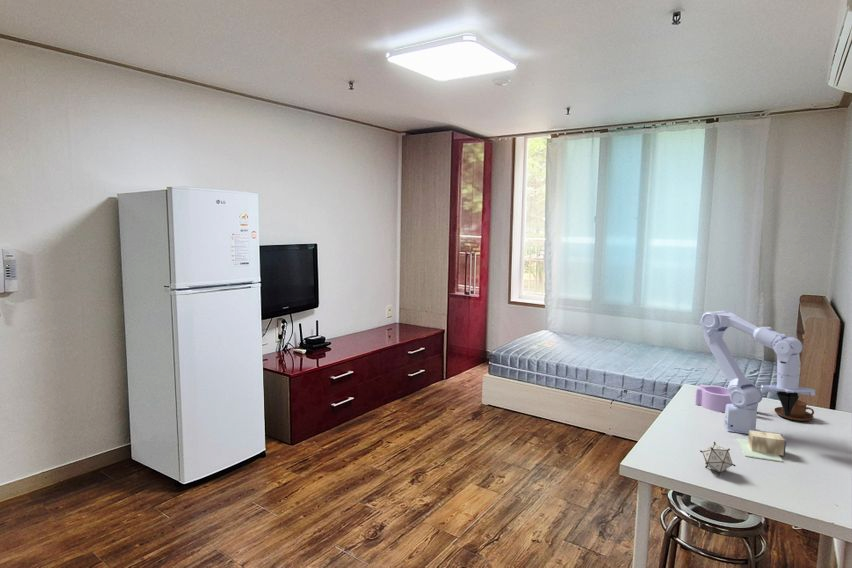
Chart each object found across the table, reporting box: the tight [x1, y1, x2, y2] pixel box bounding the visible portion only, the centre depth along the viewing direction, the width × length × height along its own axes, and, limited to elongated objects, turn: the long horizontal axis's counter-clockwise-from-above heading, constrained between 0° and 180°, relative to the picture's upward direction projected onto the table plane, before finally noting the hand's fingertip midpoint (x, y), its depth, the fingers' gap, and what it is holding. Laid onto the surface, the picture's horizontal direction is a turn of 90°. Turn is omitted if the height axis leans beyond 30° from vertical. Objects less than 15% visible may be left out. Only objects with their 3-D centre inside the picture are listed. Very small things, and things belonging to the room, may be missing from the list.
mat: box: [735, 437, 784, 463], centre depth 162 cm, size 10×14×1 cm
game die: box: [699, 441, 737, 476], centre depth 148 cm, size 9×8×10 cm
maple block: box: [747, 430, 787, 457], centre depth 161 cm, size 5×5×9 cm
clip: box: [694, 383, 733, 413], centre depth 199 cm, size 20×12×7 cm, turn 49°
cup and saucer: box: [774, 399, 815, 422], centre depth 190 cm, size 12×12×6 cm
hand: (786, 414), depth 165 cm, fingers closed
